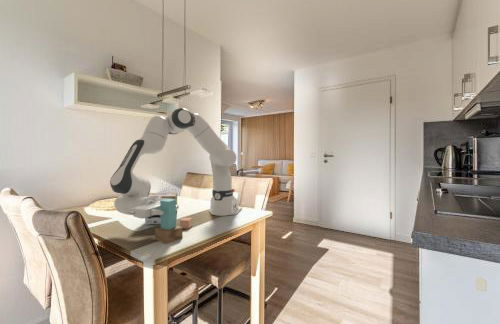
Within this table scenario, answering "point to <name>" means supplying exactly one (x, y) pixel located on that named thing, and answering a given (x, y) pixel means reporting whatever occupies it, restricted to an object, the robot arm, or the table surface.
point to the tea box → (156, 218)
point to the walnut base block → (168, 234)
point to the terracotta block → (186, 222)
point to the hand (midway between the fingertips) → (170, 209)
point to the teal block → (168, 213)
